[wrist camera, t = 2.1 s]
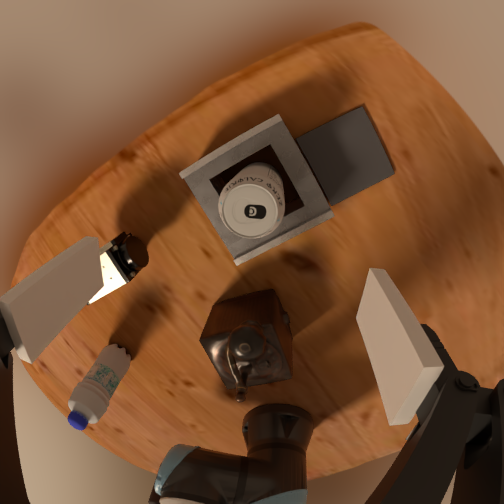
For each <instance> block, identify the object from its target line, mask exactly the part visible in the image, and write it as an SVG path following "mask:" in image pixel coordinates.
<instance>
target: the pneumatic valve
mask: <svg viewBox="0 0 504 504" xmlns="http://www.w3.org/2000/svg"><path fill="white" fill-rule="evenodd" d="M99 252H100V260H101V268H102V275H103V282H104V287H103V288H102V289H101V290H100V291H99V292H98V293H97V294H96V295H95V296H94V297H93V298H92V299H91V300H90V301H89V302H88V303H87V305H89V304H91V303H93V302H94V301H96V300H98V299H100V298H102V297H103V296H105V295H107V294H109V293H110V292H112V291H114V290H116V289H117V288H119V287H121V286H123V285H125V284H126V283H128V282H130V281H131V280H132V279H133V278H134V277H135V276H136V274H137V273H138V272H139V271H140V270H141V269H142V268H144V267H145V266H147V264H148V262H149V256H148V252H147V249H146V247H145V245H144V244H143V243H142V241H141V240H140V239H139V238H137V237H135V236H132V234H131V233H129V234H128V235H126V233H125V232H123V233H121V234H120V235H118V236H117V237H115V238H114V239H113V240H111V241H110V242H108V243H107V244H105V245H104V246H102V247H101V248H100V249H99Z"/></svg>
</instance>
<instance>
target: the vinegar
mask: <svg viewBox="0 0 504 504" xmlns="http://www.w3.org/2000/svg"><path fill="white" fill-rule="evenodd" d="M161 464H162V463H161ZM160 466H161V465H160ZM159 469H160V468H159ZM157 476H158V474H157ZM156 478H157V477H156ZM155 481H156V480H155ZM154 487H155V483H154V486H153V489H152V492H151V495H150V498H149V501H148V502H149V504H160V502H159V501H160V497H161V495H159V494H158V493H156V492H155V488H154Z"/></svg>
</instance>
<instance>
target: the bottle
mask: <svg viewBox="0 0 504 504" xmlns="http://www.w3.org/2000/svg"><path fill="white" fill-rule="evenodd" d="M130 361H131V357H130V355H129V354H126V349H125V348H124V347H123V348H118V345H117V344H112V345H108V346H106V347H105V348H104V349H103V350H102V351H101V353H100V354H99V356H98V358H97V360H96V361H95V363H94V365H93V366H92V367H91V369H90V370H89V372H88V373H87V375H86V376H85V377H84V379H83V380H82V382H79V383H78V384H77V386H76V387H75V388H74V390H73V392H72V395H71V397H70V399H69V401H68V406H69V408H70V410H71V413H70V414H69V416H68V422H69V423H70V425H72V426H73V427H74V428H76V429H78V430H84V429H85V428H86V426H87V424H88V423H97V422H98V421H99V419H100V418H101V417H102V416H103V414H104V413H105V412H106V411H107V407H108V406H109V400H110V398H111V397H112V395H113V393H114V391H115V390H116V388H117V386H118V384H119V382H120V381H121V379H122V378H123V377H124V375H125V374H126V372H127V371H128V369H129V366H130Z"/></svg>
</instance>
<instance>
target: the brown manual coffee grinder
mask: <svg viewBox="0 0 504 504" xmlns="http://www.w3.org/2000/svg"><path fill="white" fill-rule="evenodd" d="M289 323H290V320H289V316H288V314H287V312H285V311H284V310H283V308H282V305H281V303H280V300H279V298H278V296H277V295H276V293H275V291H274V290H273V289H271V290H264V291H257V292H253V293H250V294H246V295H242V296H238V297H234V298H230V299H227V300H225V301H222V302H220V303H217V304H215V305H213V307H212V310H211V312H210V314H209V317H208V319H207V322H206V324H205V327H204V329H203V332H202V334H201V337H200V340H199V341H200V342H201V344H202V346H203V348H204V350H205V351H206V353H207V355H208V357H209V358H210V360H211V362H212V364H213V365H214V367H215V369H216V371H217V372H218V374H219V376H220V377H221V379H222V381H223V383H224V384H225V386H226V388H227V389H235V388H236V393H237V394H236V396H235V400H236V401H237V402H243V401H244V400H245V399H246V397H245V395H246V394H247V392H248V387H249V386H255V385H261V384H267V383H272V382H277V381H282V380H287V379H291V378H292V376H293V367H292V339H293V338H292V334H291V331H290V327H289Z"/></svg>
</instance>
